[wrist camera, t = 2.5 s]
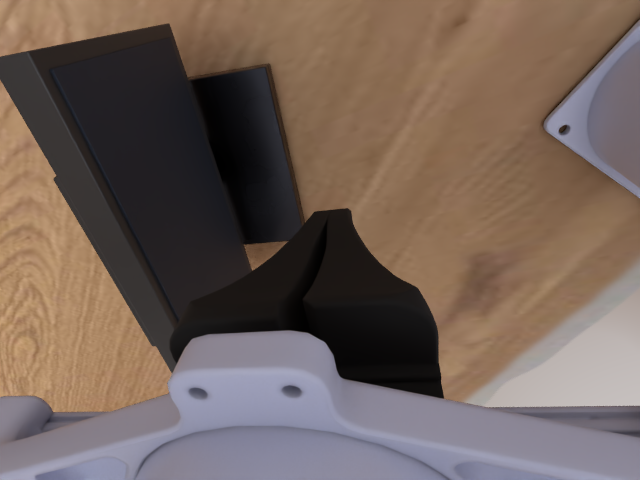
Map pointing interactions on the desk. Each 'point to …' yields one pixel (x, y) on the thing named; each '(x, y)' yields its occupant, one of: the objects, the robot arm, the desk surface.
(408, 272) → the desk surface
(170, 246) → the screen
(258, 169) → the monitor stand
